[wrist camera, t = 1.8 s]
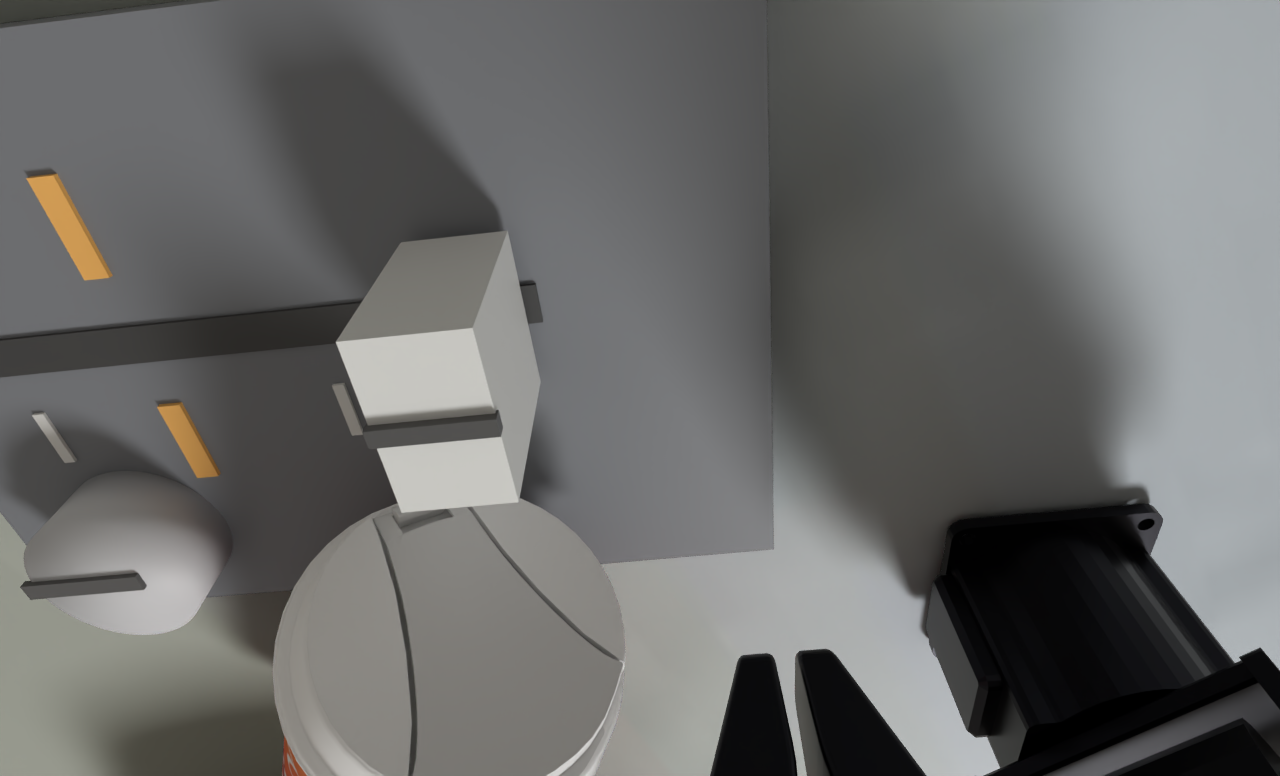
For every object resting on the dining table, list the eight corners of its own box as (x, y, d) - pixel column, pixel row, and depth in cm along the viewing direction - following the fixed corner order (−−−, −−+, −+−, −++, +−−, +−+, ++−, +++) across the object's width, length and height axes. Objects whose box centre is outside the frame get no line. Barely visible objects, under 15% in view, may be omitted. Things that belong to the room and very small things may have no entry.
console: (754, -72, 15) (786, -64, 12) (766, 514, 24) (786, 605, 21) (-271, 57, 16) (-482, 96, 13) (104, 572, 25) (30, 667, 22)
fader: (509, 230, 16) (473, 333, 13) (542, 381, 19) (520, 508, 15) (398, 242, 17) (328, 348, 13) (444, 391, 19) (396, 519, 15)
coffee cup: (210, 740, 26) (220, 530, 16) (430, 640, 31) (543, 434, 21) (296, 997, 23) (377, 943, 13) (524, 839, 28) (712, 710, 18)
